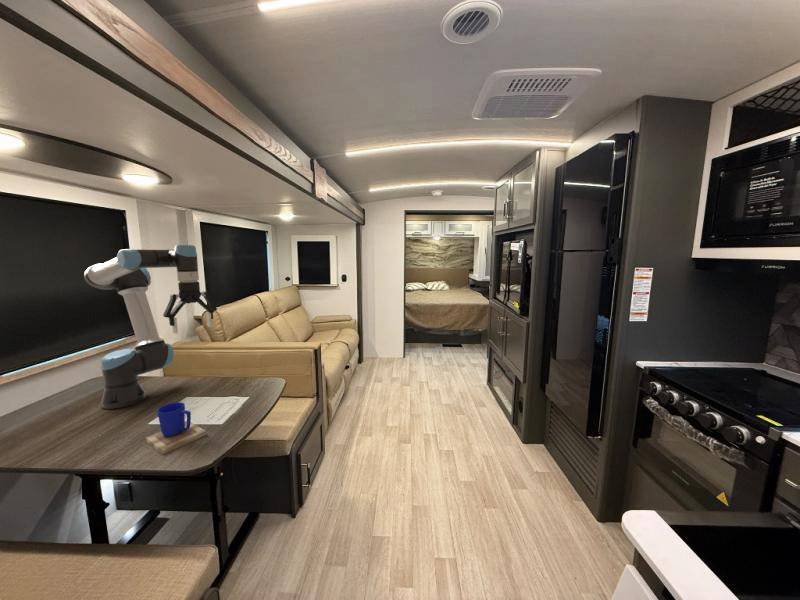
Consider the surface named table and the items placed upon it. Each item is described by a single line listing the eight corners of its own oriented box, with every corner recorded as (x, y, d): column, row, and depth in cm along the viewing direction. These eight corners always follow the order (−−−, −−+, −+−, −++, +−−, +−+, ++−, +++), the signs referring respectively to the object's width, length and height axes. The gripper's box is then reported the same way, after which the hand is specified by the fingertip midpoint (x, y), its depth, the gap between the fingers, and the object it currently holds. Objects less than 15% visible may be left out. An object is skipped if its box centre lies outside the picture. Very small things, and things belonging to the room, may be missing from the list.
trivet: (146, 441, 113) (145, 437, 113) (188, 423, 124) (188, 420, 124) (162, 454, 105) (162, 450, 105) (206, 434, 117) (205, 430, 117)
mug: (181, 441, 110) (178, 415, 109) (154, 437, 113) (151, 411, 111) (200, 429, 118) (198, 404, 116) (175, 425, 121) (172, 401, 119)
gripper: (157, 284, 120) (163, 337, 123) (223, 279, 141) (226, 325, 144) (149, 283, 124) (155, 334, 127) (214, 279, 145) (218, 323, 148)
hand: (193, 329), depth 136 cm, fingers open, 13 cm apart
